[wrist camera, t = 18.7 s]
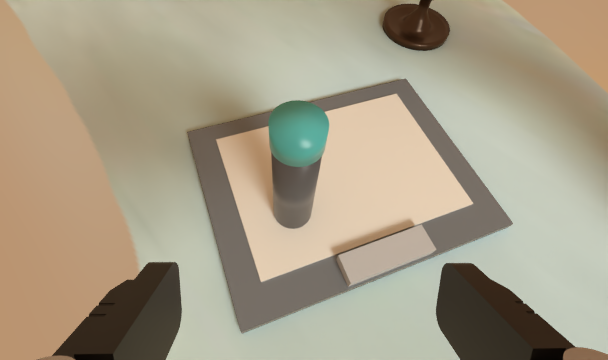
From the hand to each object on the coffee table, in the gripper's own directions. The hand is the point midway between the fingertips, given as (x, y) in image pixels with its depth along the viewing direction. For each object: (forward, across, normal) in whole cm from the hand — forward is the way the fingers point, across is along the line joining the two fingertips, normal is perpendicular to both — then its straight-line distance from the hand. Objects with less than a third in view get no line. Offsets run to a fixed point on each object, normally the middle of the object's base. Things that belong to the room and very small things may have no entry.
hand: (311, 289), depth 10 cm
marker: (+19, 0, +4) cm, 20 cm away
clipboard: (+23, -5, +2) cm, 23 cm away
